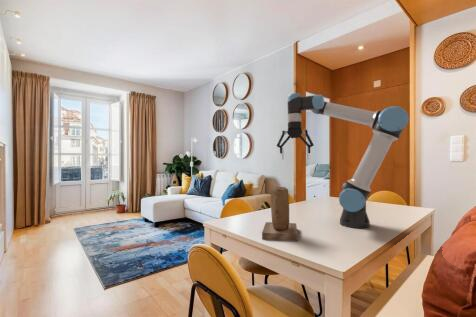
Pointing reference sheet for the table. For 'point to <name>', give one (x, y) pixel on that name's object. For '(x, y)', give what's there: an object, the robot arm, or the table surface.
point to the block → (280, 208)
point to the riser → (279, 232)
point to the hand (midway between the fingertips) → (295, 159)
